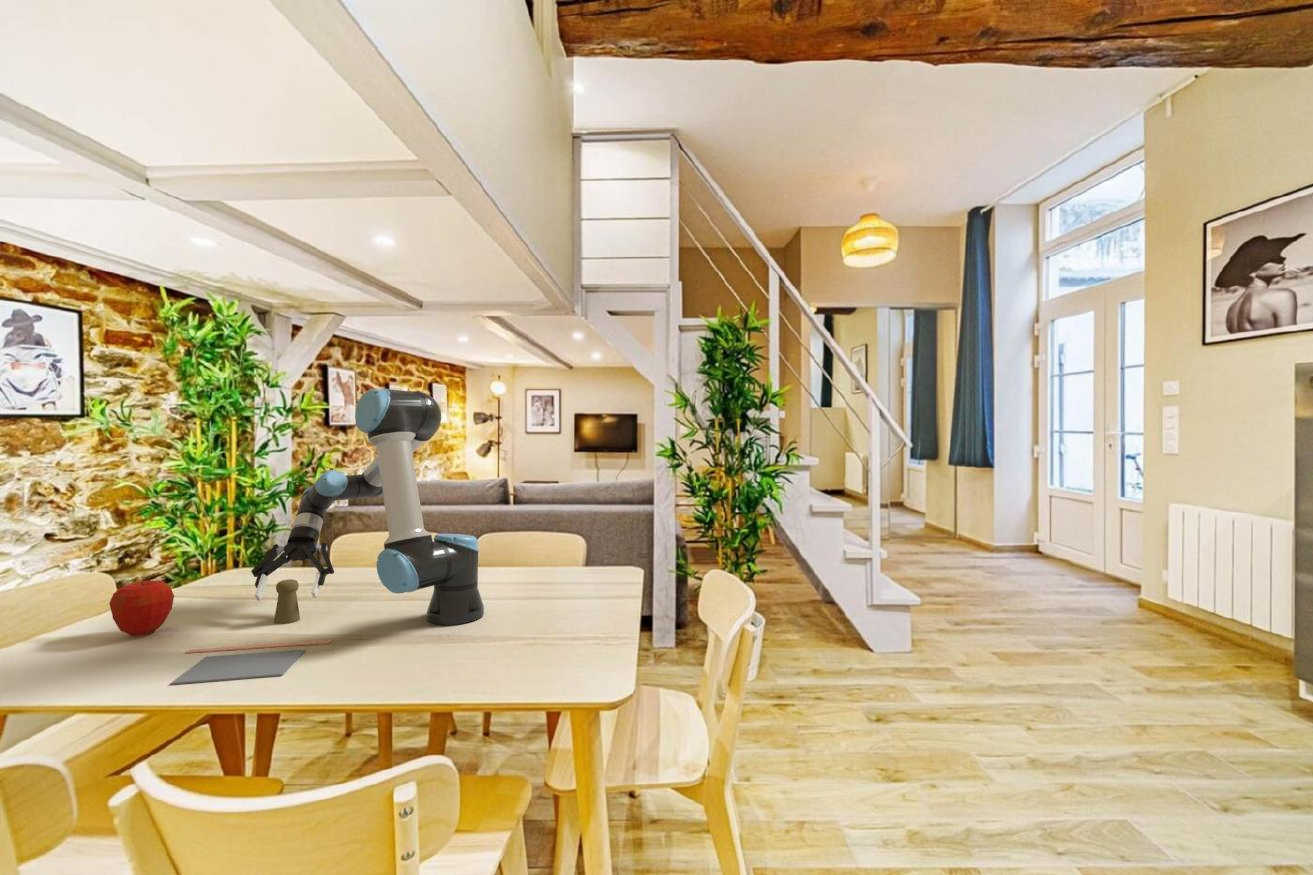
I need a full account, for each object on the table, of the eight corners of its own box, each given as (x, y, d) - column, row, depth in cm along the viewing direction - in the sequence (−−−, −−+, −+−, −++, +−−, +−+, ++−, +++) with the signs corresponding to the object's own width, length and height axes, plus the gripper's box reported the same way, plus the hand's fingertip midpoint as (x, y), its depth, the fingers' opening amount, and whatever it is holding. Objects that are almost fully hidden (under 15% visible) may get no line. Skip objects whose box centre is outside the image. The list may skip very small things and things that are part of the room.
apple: (107, 633, 144) (107, 578, 144) (169, 622, 153) (169, 570, 153) (111, 646, 136) (111, 587, 136) (176, 634, 144) (177, 578, 144)
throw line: (331, 641, 141) (331, 639, 141) (329, 643, 140) (329, 642, 140) (188, 651, 134) (188, 649, 134) (184, 653, 132) (184, 652, 132)
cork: (281, 617, 159) (282, 577, 159) (304, 616, 159) (304, 577, 159) (268, 624, 153) (269, 583, 152) (292, 624, 153) (293, 583, 153)
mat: (304, 651, 135) (305, 649, 135) (282, 675, 121) (282, 674, 121) (205, 658, 130) (205, 656, 130) (170, 685, 116) (170, 683, 116)
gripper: (353, 538, 176) (339, 600, 162) (261, 540, 170) (237, 606, 156) (349, 523, 171) (333, 587, 157) (254, 525, 165) (228, 592, 151)
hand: (285, 596), depth 156 cm, fingers open, 13 cm apart
